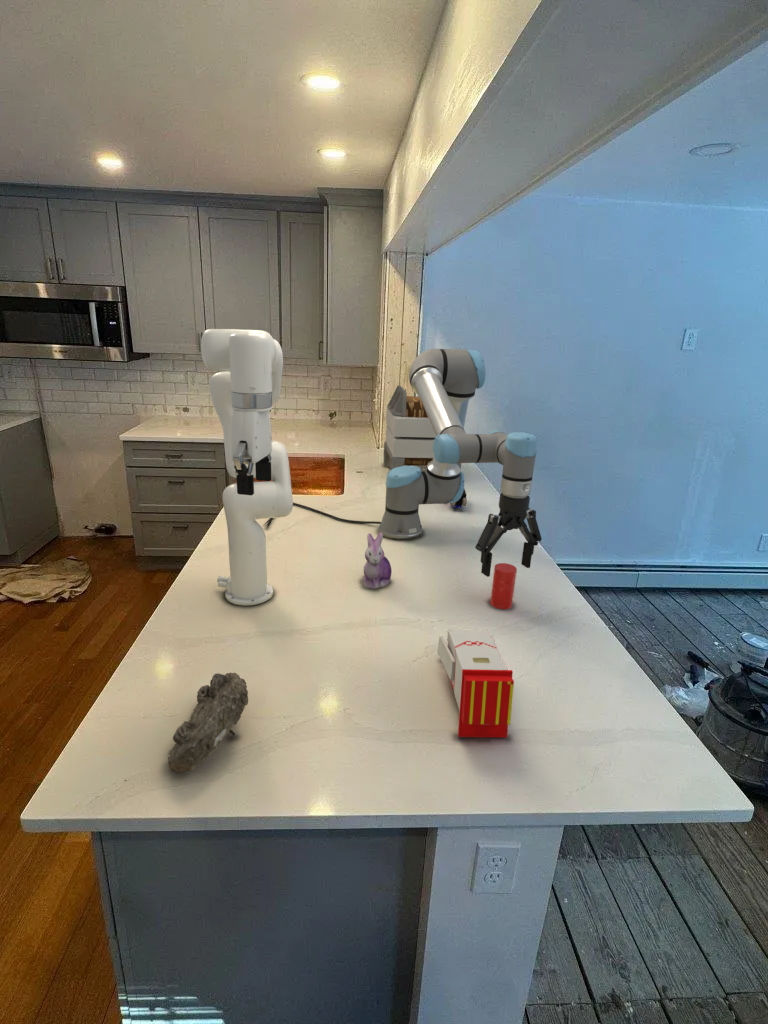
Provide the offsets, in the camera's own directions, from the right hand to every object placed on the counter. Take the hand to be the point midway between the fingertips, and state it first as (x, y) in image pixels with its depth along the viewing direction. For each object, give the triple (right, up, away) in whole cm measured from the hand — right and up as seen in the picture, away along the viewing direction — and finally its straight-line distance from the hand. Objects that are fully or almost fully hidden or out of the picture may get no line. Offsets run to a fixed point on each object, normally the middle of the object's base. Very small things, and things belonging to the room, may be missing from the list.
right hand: (505, 570), depth 151 cm
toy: (-15, -22, -33) cm, 42 cm away
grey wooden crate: (-15, +34, +124) cm, 129 cm away
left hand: (-58, +21, -38) cm, 73 cm away
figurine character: (-3, +18, +80) cm, 82 cm away
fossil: (-64, -25, -47) cm, 83 cm away
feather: (-73, +14, +60) cm, 96 cm away
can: (0, -10, +4) cm, 10 cm away
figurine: (-35, -5, +13) cm, 37 cm away
